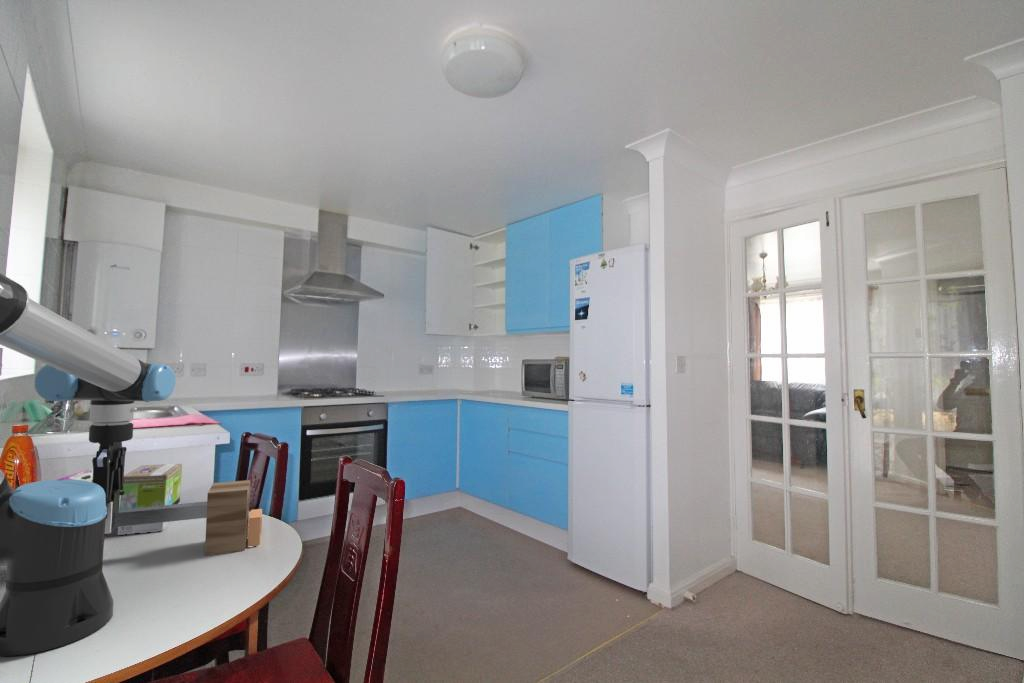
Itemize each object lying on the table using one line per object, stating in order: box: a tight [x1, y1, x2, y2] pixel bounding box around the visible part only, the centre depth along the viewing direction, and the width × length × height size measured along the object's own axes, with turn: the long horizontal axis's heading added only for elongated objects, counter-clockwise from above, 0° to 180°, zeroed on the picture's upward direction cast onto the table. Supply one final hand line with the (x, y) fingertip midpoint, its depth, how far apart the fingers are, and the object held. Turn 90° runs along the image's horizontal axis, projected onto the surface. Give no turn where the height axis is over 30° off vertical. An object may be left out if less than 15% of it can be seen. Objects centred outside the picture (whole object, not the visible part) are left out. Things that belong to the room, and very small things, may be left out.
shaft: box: [111, 489, 207, 531], centre depth 111 cm, size 4×24×8 cm, turn 115°
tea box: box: [117, 463, 183, 536], centre depth 129 cm, size 15×10×15 cm
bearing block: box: [204, 479, 251, 557], centre depth 116 cm, size 10×8×14 cm
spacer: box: [247, 508, 263, 547], centre depth 119 cm, size 7×2×7 cm, turn 24°
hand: (106, 529), depth 106 cm, fingers closed on shaft, 4 cm apart
